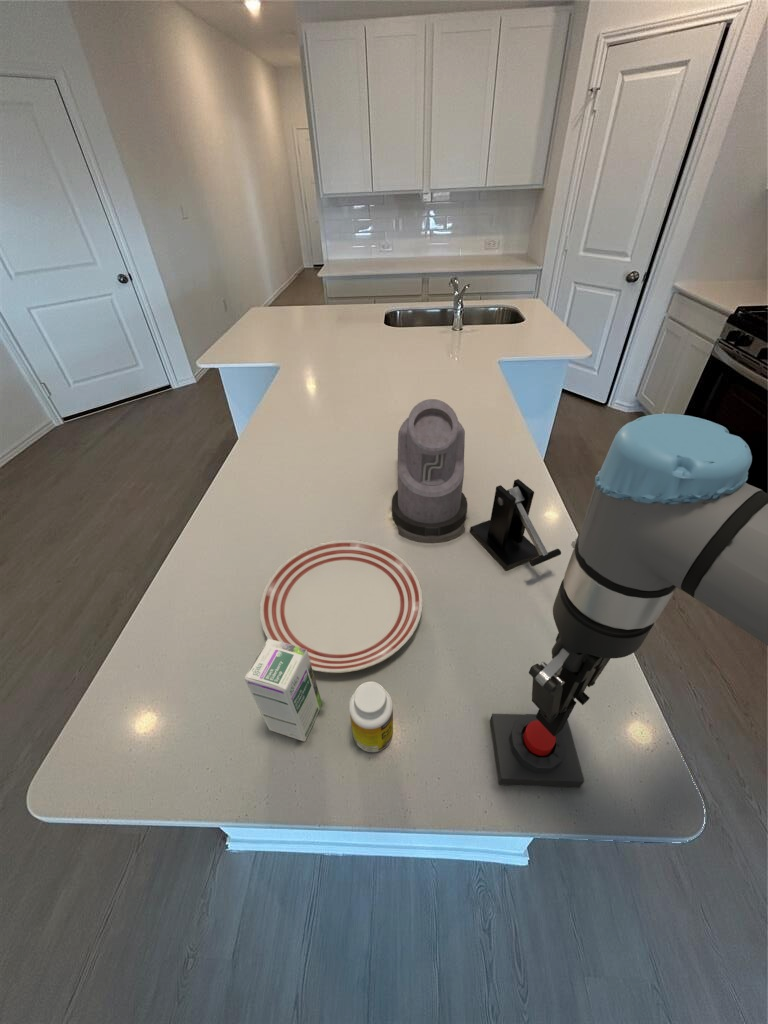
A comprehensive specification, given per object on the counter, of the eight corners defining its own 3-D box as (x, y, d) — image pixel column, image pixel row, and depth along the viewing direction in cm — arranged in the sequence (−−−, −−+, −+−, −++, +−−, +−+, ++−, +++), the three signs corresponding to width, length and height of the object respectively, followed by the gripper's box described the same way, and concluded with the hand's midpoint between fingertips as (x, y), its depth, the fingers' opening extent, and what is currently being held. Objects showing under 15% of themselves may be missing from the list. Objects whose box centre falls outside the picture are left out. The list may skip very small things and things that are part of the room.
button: (548, 726, 57) (551, 720, 56) (555, 756, 54) (559, 750, 53) (520, 725, 57) (523, 719, 56) (526, 755, 54) (529, 749, 53)
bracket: (539, 556, 84) (556, 501, 75) (505, 571, 82) (518, 515, 73) (501, 520, 93) (511, 466, 84) (469, 531, 90) (477, 477, 81)
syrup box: (305, 743, 60) (287, 690, 50) (267, 730, 61) (242, 676, 52) (322, 704, 64) (309, 648, 54) (286, 692, 65) (266, 636, 56)
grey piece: (472, 542, 88) (488, 435, 72) (392, 544, 88) (390, 438, 72) (453, 458, 111) (462, 363, 95) (389, 460, 111) (387, 365, 95)
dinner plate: (445, 578, 81) (446, 566, 79) (378, 711, 63) (377, 700, 60) (319, 535, 91) (317, 523, 88) (229, 639, 72) (224, 628, 70)
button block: (562, 722, 61) (569, 709, 58) (579, 787, 55) (588, 776, 52) (489, 720, 61) (493, 707, 59) (498, 785, 55) (503, 773, 53)
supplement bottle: (386, 759, 58) (384, 725, 51) (347, 746, 59) (340, 711, 52) (398, 718, 62) (398, 682, 55) (361, 707, 63) (356, 670, 56)
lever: (556, 556, 78) (564, 552, 76) (529, 568, 76) (536, 564, 74) (520, 488, 82) (526, 482, 80) (493, 497, 80) (499, 492, 78)
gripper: (616, 538, 42) (560, 670, 57) (519, 601, 36) (485, 728, 52) (696, 589, 37) (611, 718, 52) (598, 670, 32) (535, 787, 47)
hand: (548, 723), depth 52 cm, fingers closed
